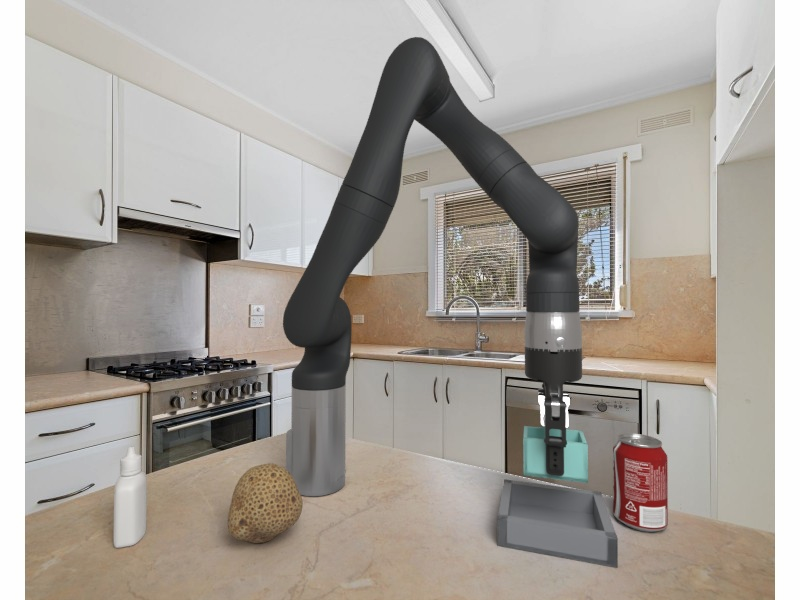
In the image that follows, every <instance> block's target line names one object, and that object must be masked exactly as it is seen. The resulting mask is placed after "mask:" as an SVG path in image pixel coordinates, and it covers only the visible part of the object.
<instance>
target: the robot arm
mask: <svg viewBox="0 0 800 600" xmlns="http://www.w3.org/2000/svg"><path fill="white" fill-rule="evenodd" d="M414 121H416V122H417V123H418V124H420V125H421V126H422V127H424V128H425V129H426V130H427V131H429V132H430V133H431V134H433V135H434V136H435V137H436V138H437V139H438V140H439V141H441V142H442V144H444V146H445V147H446V148H447V149H448V150H449V151H450V152H451V153H452V154H453V155H454V157H455V158H456V159H457V160H458V162H459V163H460V164H461V166H462V167H463V169H464V170H465V172H467V174H469V176H470V177H471V178H472V179H473V180H474V181H475V184H477V185H478V186H479V188H480V189H481V190H482V191H483V192H484V193H485V195H486V196H488V197H489V199H490V200H491V201H492V202H493V203H494V204H496V205H497V207H499V208H500V209H502V210H504V212H505V214H507V216H508V218H510V220H511V221H512V222H513V224H514V225H515V226H516V227H517V228H518V229H519V231H520V232H521V233H522V234H523V237H525V238H526V239H527V242H528V243H527V245H528V266H529V267H528V269H529V272H528V275H527V279H526V284H525V285H526V286H525V293H526V294H525V308H526V309H525V310H526V312H525V322H524V375H525V377H527V378H528V379H531V380H534V381H536V382H537V381H542V383H541V388H542V389H541V388H538V389H537V393H538V395H537V396H538V397H537V399H538V406H539V416H540V426H541V427H543V428H544V429H545V438H544V443H545V446H546V472H547V473H548V474H549V475H557V476H562V475H563V474H564V448H565V447H566V445H567V440H566V429H567V430H568V427H569V411H568V410H569V407H570V394H569V393H568V392H569V391H568V390H564V384H565V383H574V382H575V383H576V382H578V381H581V379H582V378H583V339H582V337H583V333H582V332H583V331H582V330H583V329H582V323H581V317H580V286H579V283H580V282H579V278H578V274H577V270H578V269H577V268H578V249H579V246H578V242H579V227H580V225H579V224H580V222H579V221H580V220H579V215H578V213H577V211H576V209H575V208H574V206H573V205H572V203H571V202H570V201H568V199H567V198H565V196H564V195H563V194H562V193H560V192H559V190H557V189H555V187H554V186H552V185H551V184H550V183H549V182H547V181H546V179H544V178H542V177H541V176H540V175H539V174H537V173H536V171H535V170H534V169H533V166H531V165H530V164H529V163H528V162H527V160H525V159H524V158H523V157H522V155H521V154H520V153H519V152H518V151H517V150H516V149H515V148H514V147H513V146H512V145H511V144H510V143H509V141H507V140H506V139H504V138H503V137H502V135H500V134H499V133H497V132H496V131H494V130H493V129H491V127H489V126H488V125H485V124H484V123H483V122H482V121H481V120H479V119H478V118H477V117H476V116H475V115H474V113H473V112H471V111H470V110H469V108H468V107H467V106H466V104H465V103H464V101H463V100H462V99H461V97H460V96H459V94H458V93H457V91H456V89H455V87H454V86H453V84H452V83H451V78H450V75H449V73H448V70H447V69H446V66H445V64H444V62H443V60H442V58H441V56H440V55H439V52H438V51H437V49H436V47H435V46H434V45H433V44H432V42H430V41H429V40H428V39H426V38H424V37H422V36H421V37H420V36H419V37H418V36H414V37H410V38H409V37H408V38H407V39H405V40H403V41H402V42H400V43H399V44H398V45H397V46H396V47H395V48H394V49H393V51H392V52H391V53H390V55H389V56H388V58H387V60H386V62H385V65H384V67H383V69H382V72H381V76H380V79H379V81H378V86H377V88H376V92H375V96H374V99H373V102H372V105H371V109H370V113H369V115H368V118H367V122H366V125H365V126H364V130H363V132H362V135H361V137H360V139H359V142H358V145H357V148H356V150H355V153H354V155H353V157H352V159H351V163H350V165H349V167H348V170H347V172H346V175H345V176H344V179H343V181H342V183H341V186H340V187H339V190H338V192H337V195H336V198H335V200H334V202H333V205H332V208H331V211H330V214H329V216H328V219H327V220H326V223H325V226H324V228H323V230H322V232H321V235H320V237H319V239H318V242H317V244H316V247H315V249H314V252H313V254H312V256H311V259H310V261H309V262H308V264H307V267H306V268H305V270H304V272H303V274H302V275H301V278H300V279H299V281H298V283H297V284H296V287H295V288H294V290H293V292H292V294H291V295H290V298H289V300H288V301H287V304H286V307H285V309H284V312H283V316H282V327H283V328H282V329H283V332H284V335H285V337H286V339H287V340H288V341H289V343H291V344H292V345H294V346H295V347H298V348H303V349H304V352H303V356H302V358H301V360H300V361H299V363H298V364H297V365H296V366H295V367H294V369H293V370H292V372H291V423H290V424H291V425H290V426H291V427H290V428H291V429H288V430H287V431H286V434H285V436H286V437H285V438H286V439H285V441H286V443H285V469H286V470H287V471H288V472H289V473H290V474H291V475H292V477H293V479H294V480H295V483H296V485H297V488H298V491H299V493H300V495H301V496H306V497H319V496H326V495H331V494H334V493H336V492H338V491H340V490H341V489H342V488H344V487H345V485H346V471H347V470H346V413H347V411H346V405H347V403H346V397H347V396H346V395H347V394H346V390H347V389H346V388H347V386H346V383H347V382H346V381H347V373H348V371H349V368H350V364H351V351H352V330H353V329H352V325H353V324H352V316H351V311H350V308H349V305H348V304H347V302H346V301H345V300H344V299H343V298H342V297H341V294H342V291H343V289H344V287H345V286H346V283H347V281H348V278H349V277H350V275H351V274H352V273H353V271H354V269H355V268H356V267H357V266H358V265H359V263H361V262H362V260H363V259H364V258H365V257H366V255H368V253H369V252H370V251H371V250H372V249H373V247H374V246H375V245H376V243H377V242H378V241H379V239H380V238H381V236H382V234H383V233H384V230H385V229H386V227H387V224H388V222H389V219H390V217H391V215H392V212H393V211H394V208H395V205H396V202H397V201H398V196H399V193H400V187H401V180H402V171H403V170H402V169H403V160H404V153H405V152H404V151H405V148H406V144H407V143H406V142H407V139H408V136H409V133H410V131H411V127H412V126H413V124H414ZM550 429H559V430H560V436H561V437H558V436H549V430H550Z"/></svg>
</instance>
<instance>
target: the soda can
mask: <svg viewBox="0 0 800 600" xmlns="http://www.w3.org/2000/svg"><path fill="white" fill-rule="evenodd" d="M617 439H618V440H617V441H616V443H615V444H614V446H613V447H612V462H613V463H612V488H613V489H612V490H613V491H612V506H613V507H612V512H613V515H614V517H615V518H616V519H617V520H618V521H619V522H621V523H622V524H624V525H625V526H627V527H628V528H631V529H633V530H636V531H639V532H643V533H656V532H659V531H663V530H666V529H667V527H668V521H669V519H668V517H669V516H668V515H669V513H668V509H669V507H668V504H669V503H668V502H669V501H668V496H669V495H668V476H669V475H668V454H667V453H666V452H665V450H664V448H663V447H662V446H663V442H662V441H661V440H660V439H658V438H656V437H653V436H651V435H646V434H640V433H633V432H632V433H631V432H629V433H628V432H627V433H625V432H624V433H620V434H619V435H618V436H617Z"/></svg>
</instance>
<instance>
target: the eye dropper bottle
mask: <svg viewBox="0 0 800 600" xmlns="http://www.w3.org/2000/svg"><path fill="white" fill-rule="evenodd" d="M142 458H143V456H142V455H141V454H138V453H137V452H136V447H135V446H129V447H127V452H126V455H125V456H123V457H121V458H120V461H119V463H120V464H119V475H120V476H118V478H117V479H116V482H115V484H114V487H113V488H114V489H113V490H114V491H113V547H114V548H115V549H120V548H126V547H131V546H134V545H136V544H137V543H138V542H139V541H141V539H142V538H143V537H144V536H145V534H146V530H147V495H148V494H147V485H148V484H147V482H148V481H147V474H146V473H145V472H144V471H143V470H142V469H143V468H142V466H143V460H142Z"/></svg>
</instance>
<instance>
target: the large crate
mask: <svg viewBox="0 0 800 600" xmlns="http://www.w3.org/2000/svg"><path fill="white" fill-rule="evenodd" d="M618 540H619V538H618V535H617V533H616V530H615V527H614V524H613V522H612V519H611V516H610V513H609V511H608V508H607V505H606V502H605V500H604V497H603V494H602V491H596V490H588V489H580V488H575V487H574V488H572V487H565V486H559V485H551V484H542V483H537V482H536V483H535V482H527V481H523V480H522V481H521V480H514V479H513V480H512V479H507V478H504V479H503V484H502V490H501V496H500V502H499V507H498V513H497V547H503V548H509V549H514V550H518V551H519V550H520V551H524V552H530V553H535V554H540V555H547V556H553V557H557V558H562V559H567V560H568V559H569V560H574V561H578V562H583V563H588V564H594V565H601V566H604V567H605V566H606V567H611V568H616V569H617V568H618V567H619V566H618V565H619V564H618V560H619V559H618V557H619V554H618V551H619V550H618V548H619V547H618V545H619V544H618V543H619V541H618Z"/></svg>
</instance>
